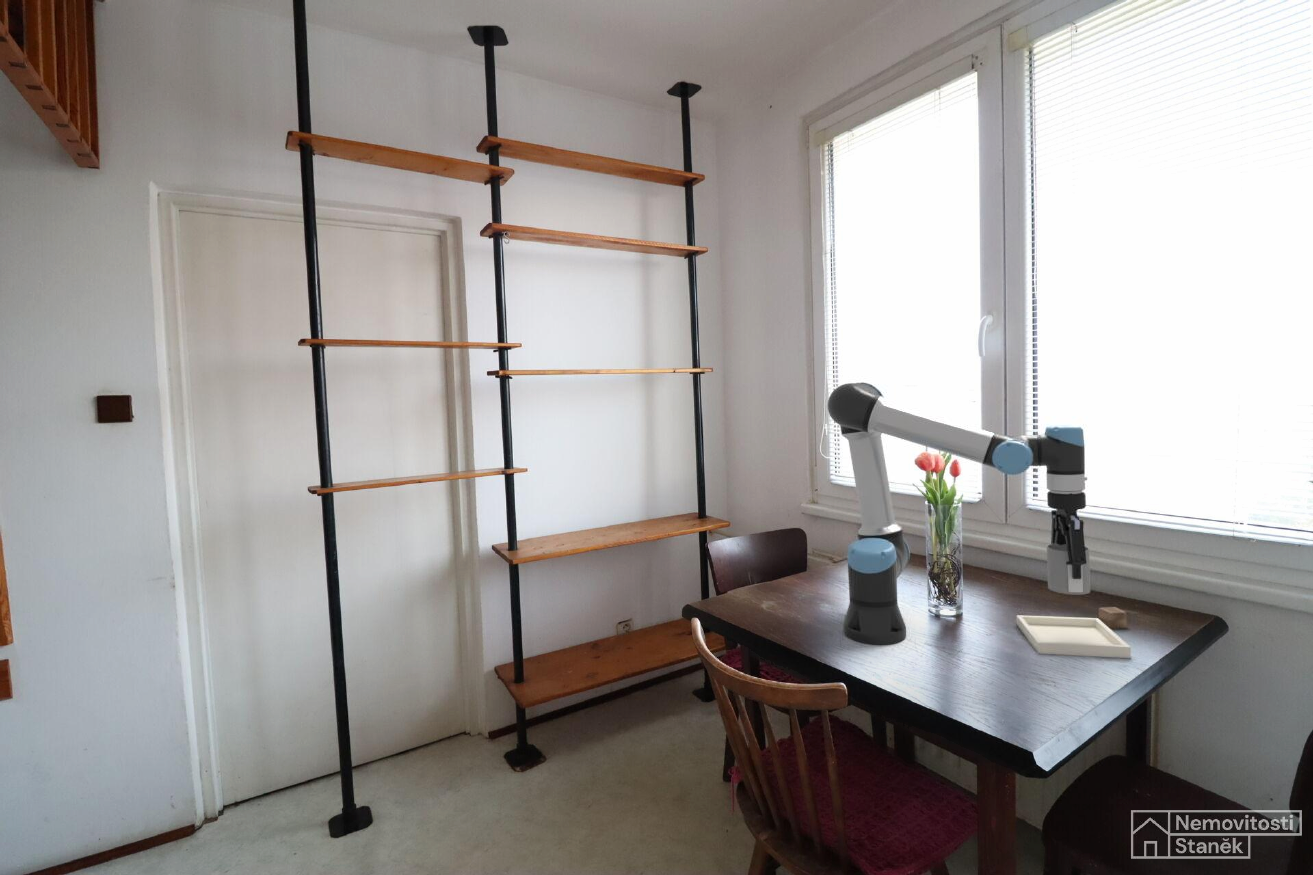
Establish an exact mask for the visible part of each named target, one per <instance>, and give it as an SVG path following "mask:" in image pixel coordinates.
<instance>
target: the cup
mask: <svg viewBox="0 0 1313 875" xmlns="http://www.w3.org/2000/svg"><path fill="white" fill-rule="evenodd" d="M1085 553H1086V561H1087V562H1086V564H1083V565H1082V574H1083V592H1069V591H1068V565H1066V562H1069V557H1068V551H1067V546H1066V544H1064V545H1059V544H1051V543H1050V544H1047V545H1046V557H1047V558H1046V562H1047V563H1046V566H1047V570H1046V571H1047V589H1049V590H1050V591H1052V592H1055V593H1059V594H1064V595H1074V596H1076V595H1077V596H1078V595H1087V594H1090V592H1091V577H1090V576H1091V572H1090V571H1091V570H1090V569H1091V568H1090V566H1091V565H1090V547H1087V546H1085ZM1077 559H1078V558H1077Z"/></svg>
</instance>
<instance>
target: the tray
mask: <svg viewBox="0 0 1313 875" xmlns="http://www.w3.org/2000/svg"><path fill="white" fill-rule="evenodd" d="M1016 626H1017V627H1018V629H1019V630H1020V631H1021V632H1022V634H1023V635H1024V637H1025V638H1026V639H1027V640H1028V642H1029V643H1030V645H1031V646H1032V647H1033V649H1034V650H1035V651H1036V653H1037V654H1040V655H1041V654H1043V655H1044V654H1046V655H1061V656H1062V655H1063V656H1065V655H1066V656H1078V657H1079V656H1083V657H1097V658H1099V657H1101V658H1102V657H1103V658H1120V659H1131V658H1132V656H1131V654H1132V653H1131V646H1130V645H1129V644H1128V643H1127V642H1126V641H1124V640H1123V639H1122V638H1121V637H1120V635H1118V634H1117V633H1115V632H1114V631H1113V629H1110V628H1108V627H1107V626H1106V625H1105V624H1104V623H1103V622H1102V621H1101V620H1099V617H1098V618H1097V617H1075V616H1074V617H1073V616H1072V617H1071V616H1050V615H1049V616H1046V615H1021V614H1020V615H1018V614H1017V615H1016Z"/></svg>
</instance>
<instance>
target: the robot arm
mask: <svg viewBox="0 0 1313 875" xmlns="http://www.w3.org/2000/svg"><path fill="white" fill-rule="evenodd" d="M829 395H830V396H829V398H828V401H827V411H828V414H829V417H830V418H831V419H832V420H833V421H834V422H835V423H836V424H837V425H839V427H840V433H841V436H842V437H844V438H845V439H847V441H848V446H849V453H850V459H851V465H852V472H853V478H854V484H855V488H856V496H857V501H858V507H859V513H860V520H861V527H860V528H859V529H858V531H857V537H858V539H857V540H854V541H853V542H851V543H850V544H849V545H848V546H847V547H848V548H847V555H846V561H847V571H848V572H847V574H848V593H849V604H848V608H847V610H846V614H845V617H844V620H843V633H844V635H845V636H846V637H848V638H850V639H851V640H853V641H857V642H859V643H863V644H869V645H870V644H871V645H890V644H895V643H896V644H897V643H899V642H901V641H903V640H905V639H906V637H907V626H906V623H905V620H904V618H903V614H902V613H901V609H900V608H899V603H898V583H897V582H898V578H899V577H900V576H901V574H903V572H904V571H905V570H906V568H907V567H908V565H909V563H910V562H909V561H910V557H911V552H910V551H911V550H910V547H909V545H908V543H907V541H906V539H905V538H904V533H903V531H904V530H903V527H902V526H901V525H899V524H898V523H897V522H896V520H895V514H894V508H893V501H892V495H891V490H890V489H891V488H890V484H889V477H888V471H887V466H886V460H885V453H884V452H885V451H884V447H883V441H882V434H884V435H887V436H891V437H895V438H897V439H901V440H903V441H907V442H910V443H913V444H917V445H920V446H923V447H927V448H929V449H933V450H936V451H939V452H943V453H946V454H949V455H953V456H956V457H960V458H963V459H965V460H969V461H972V462H974V463H975V462H976V463H979V464H982V465H985V466H987V467H990V468H993V469H996V470H998V471H1000V472H1001V473H1003V474H1005V475H1010V476H1014V475H1015V476H1016V475H1020V474H1022V473H1025V472H1026V471H1027V470H1029V468H1030V467H1046V489H1047V490H1048V492H1046V493H1047V494H1046V496H1047V499H1046V500H1047V506H1048V507H1049V508H1051V512H1050V513H1051V532H1050V537H1051V538H1050V541H1051V542H1050V544H1059V545H1064V544H1066V546H1067V551H1068V557H1069V562H1066V565H1068V591H1069V592H1083V574H1082V565H1083V564H1086V562H1087V561H1086V553H1085V533H1084V525H1085V522H1084V520H1083V519H1080V517H1079V516H1078V513H1077V512H1078V511H1079V510H1083V509H1086V507H1087V503H1086V502H1087V500H1086V499H1087V498H1086V493H1085V492H1084V490H1086V481H1087V480H1088V477H1087V476H1086V475H1085V469H1086V468H1085V467H1086V466H1085V463H1086V462H1085V461H1086V460H1085V458H1086V457H1085V447H1086V446H1085V437H1084V429H1083V428H1082V427H1081V426H1079V425H1074V424H1072V425H1071V424H1069V425H1068V424H1067V425H1065V424H1064V425H1049V426H1046V427H1045V429H1044V430H1045V431H1044V433H1043V434H1032V435H1031V434H1030V435H1028V434H1023V435H1022V434H1020V435H1019V434H1015V435H1012V434H1011V435H1009V434H1002V435H1001V434H997V433H994V432H990V431H987V430H983V429H980V428H978V427H973V426H970V425H966V424H963V423H959V422H956V421H953V420H949V419H945V418H942V417H938V416H935V415H931V414H928V413H925V412H922V411H918V410H915V409H910V408H908V407H903V406H901V405H897V404H893V403H891V402H887V401H886V399H885V396H884V395H883V393H882V392H881V390H880V389H878V388H877V387H876V386H874V385H872V384H871V383H867V382H851V383H849V382H848V383H844V384H841V385H839V386H838V387H836V388H835V389H833V391H832V392H831V393H830V394H829ZM1077 558H1078V559H1077Z"/></svg>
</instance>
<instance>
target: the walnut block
mask: <svg viewBox="0 0 1313 875" xmlns="http://www.w3.org/2000/svg"><path fill="white" fill-rule="evenodd" d="M1127 616H1128V614H1127V612H1126V611H1125V610H1123V609H1120V608H1118V607H1115V606H1109V607H1099V608H1098V619H1099V620H1101V621H1102V622H1103V623H1104V624H1105V625H1106V626H1107V627H1108V628H1110V629H1111V630H1113V629H1127V628H1128V624H1127V623H1128V619H1127V618H1128V617H1127Z"/></svg>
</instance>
